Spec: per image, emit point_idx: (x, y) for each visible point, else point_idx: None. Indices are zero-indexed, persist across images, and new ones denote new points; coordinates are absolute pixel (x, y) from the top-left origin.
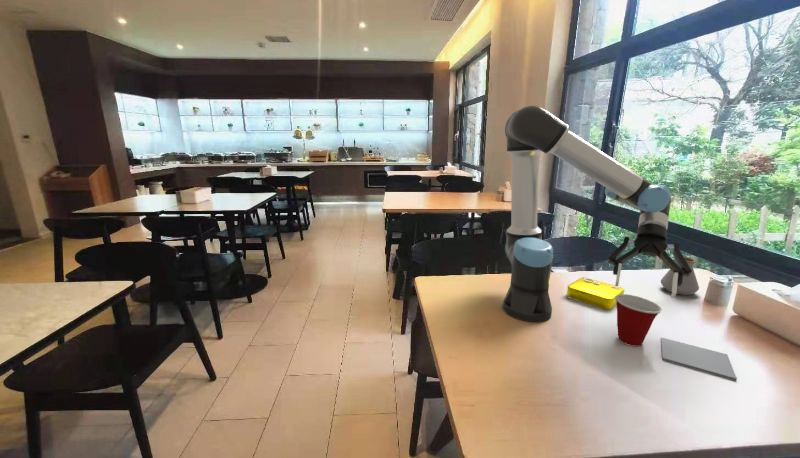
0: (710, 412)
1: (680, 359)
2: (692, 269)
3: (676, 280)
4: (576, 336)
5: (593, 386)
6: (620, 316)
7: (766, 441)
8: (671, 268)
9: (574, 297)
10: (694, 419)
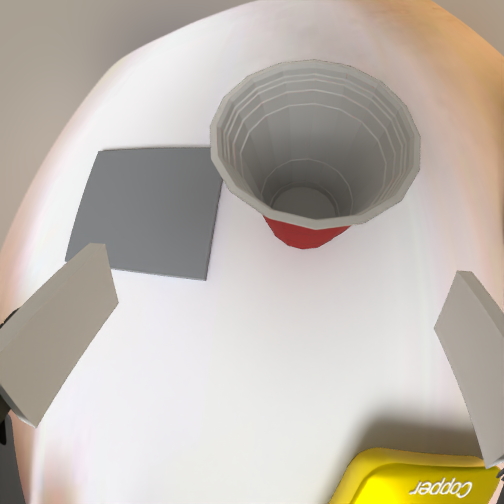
0: (191, 52)
1: (183, 163)
2: None
3: (28, 306)
4: (431, 170)
5: (350, 37)
6: (361, 140)
7: (147, 44)
8: (5, 475)
9: (467, 457)
10: (219, 33)
